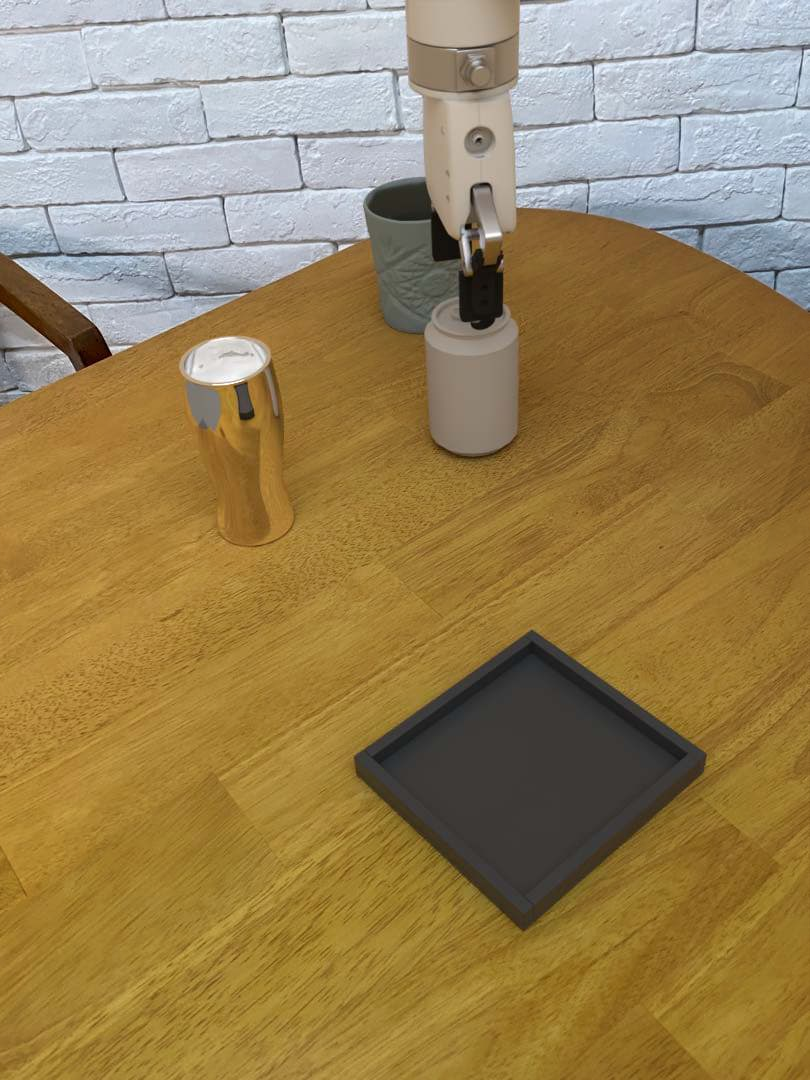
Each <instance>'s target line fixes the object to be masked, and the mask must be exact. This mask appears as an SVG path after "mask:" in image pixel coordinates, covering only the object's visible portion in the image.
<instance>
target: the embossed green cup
mask: <svg viewBox="0 0 810 1080" xmlns="http://www.w3.org/2000/svg"><path fill="white" fill-rule="evenodd" d="M362 207H363V212H364V218H365V223H366V230H367V232H368V236H369V241H370V245H371V252H372V258H373V265H374V270H375V273H376V282H377V286H378V292H379V301H380V308H381V313H382V317H383V319H384V321H385V323H386V324H387V326H389V327H391V328H392V329H394V330H397V331H398V332H404V333H406V334H407V333H408V334H415V335H416V334H418V335H422V334H423V335H424V331H425V329H426V326H427V324H428V323H429V322H430V321H431V320H432V318H431V315H432V312H433V310H434V309H435V308H436V307H437V306H438V305H439V304H440V303H442V302H444V301H446V300H448V299H451V298H454V297H458V296H459V274H458V271H461V270H463V266H462V260H461V259H455V260H448V261H440V262H436V261H434V259H433V257H432V244H431V215H430V213H433V212H437V211H433V210H432V207H431V198H430V196H429V193H428V189H427V184H426V177H425V176H413V177H405V178H399V179H395V180H392V181H388V182H386V183H383V184H381V185H378V186H377V187H375V188H373V189H371V190H370V191H369V192H368V193H367V194H366V195H365V197H364V199H363V202H362Z"/></svg>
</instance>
